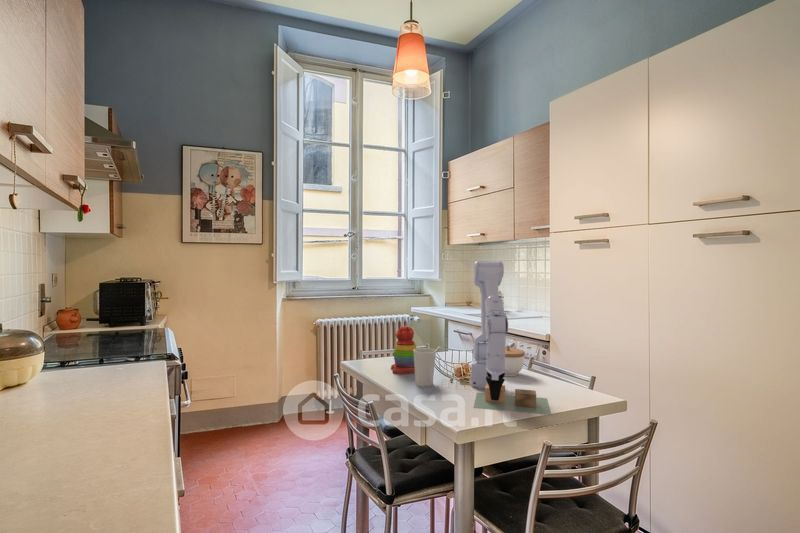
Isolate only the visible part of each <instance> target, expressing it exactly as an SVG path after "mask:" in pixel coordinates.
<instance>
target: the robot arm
mask: <svg viewBox="0 0 800 533" xmlns="http://www.w3.org/2000/svg"><path fill="white" fill-rule="evenodd" d="M504 269H505V267H504V263H503V262H502V261H478V260H476V261H475V262H474V264H473V282H474V285H475V286H476V287H478V289H479V292H480V320H481V321H480V322H481V323H480V324H481V326H480V328H481V332H480V334H478V335H477V336H475V338H474V339H473V348H472V354H473V360H472V361H471V365H470V366H471V367H470V387H472V388H473V387H474V388H475V387H476V388H483V389H485V386H486V384H488V385H489V389H490V395H491V400H497V401H498V400H499V396H500V391H501V387H502V385H503V384H504V382H505V380H506V379H505V378H504V377H505V376H504V375H505V372H509V369H508V368H505V348H506V347H507V345H506V343H507V342H506V341H507V338H506V337H507V336H506V335H508V331H509V319H508V316H507V314H506V313H505V309H504V307H505V306H504V301H503V299H502V297H500V296H499V287H500V286H501V283H502V281H503V278H504V273H505V271H504Z"/></svg>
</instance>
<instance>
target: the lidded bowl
mask: <svg viewBox="0 0 800 533" xmlns="http://www.w3.org/2000/svg"><path fill="white" fill-rule="evenodd" d="M525 353H526V352H525V351H524V350H523V349H519V348H513V347H511V346H510V345H506V347H505V368H508V369H509V372H505V375H504V377H516V376H518V374H519V373H520V372H521V371H522V369H523V367H524V364H525V355H526V354H525Z"/></svg>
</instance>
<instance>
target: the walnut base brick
mask: <svg viewBox="0 0 800 533" xmlns="http://www.w3.org/2000/svg"><path fill="white" fill-rule="evenodd" d="M514 396H515V406H516V407H527V408H536V397H537V391H536V390H535V389H534V390H532V389H522V388H521V389H520V388H515V389H514Z"/></svg>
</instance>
